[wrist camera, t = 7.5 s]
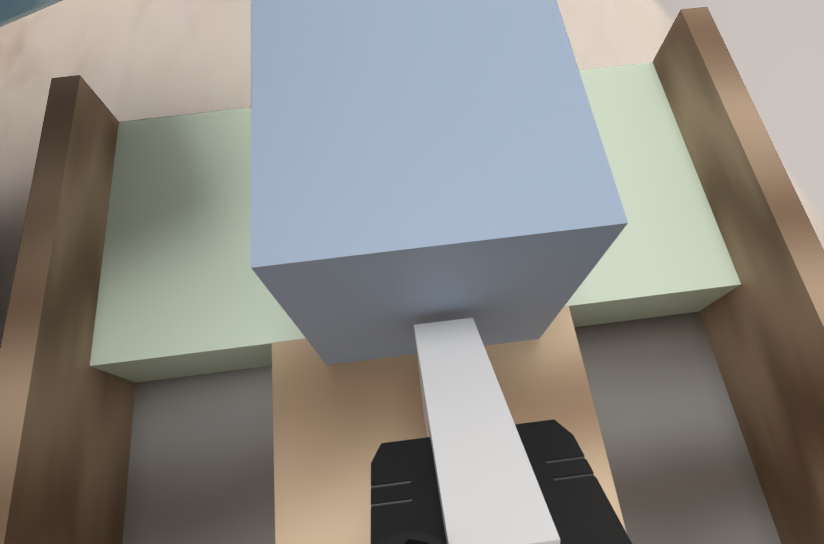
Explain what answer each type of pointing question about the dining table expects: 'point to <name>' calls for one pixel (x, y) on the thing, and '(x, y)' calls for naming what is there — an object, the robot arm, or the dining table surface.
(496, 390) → the robot arm
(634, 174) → the pad
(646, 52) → the dining table surface
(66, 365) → the box
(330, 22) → the slate block
